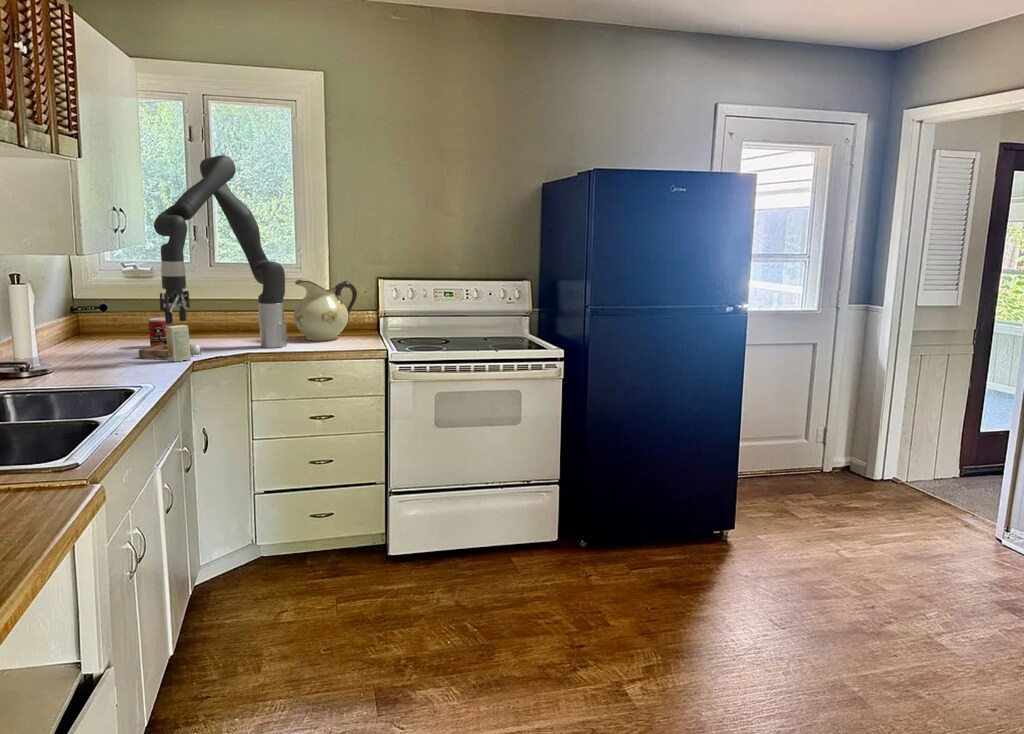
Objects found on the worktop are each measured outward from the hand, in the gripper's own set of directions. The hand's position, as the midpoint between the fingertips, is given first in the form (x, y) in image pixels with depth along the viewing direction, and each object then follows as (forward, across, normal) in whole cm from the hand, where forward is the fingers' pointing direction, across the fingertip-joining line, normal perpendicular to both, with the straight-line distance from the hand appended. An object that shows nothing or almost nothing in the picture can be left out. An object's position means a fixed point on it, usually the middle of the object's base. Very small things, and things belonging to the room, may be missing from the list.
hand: (176, 322), depth 258 cm
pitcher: (+13, +63, -28) cm, 70 cm away
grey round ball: (+14, +12, +1) cm, 18 cm away
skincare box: (+14, 0, 0) cm, 14 cm away
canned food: (+14, +30, +25) cm, 41 cm away
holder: (+14, +10, +10) cm, 19 cm away
